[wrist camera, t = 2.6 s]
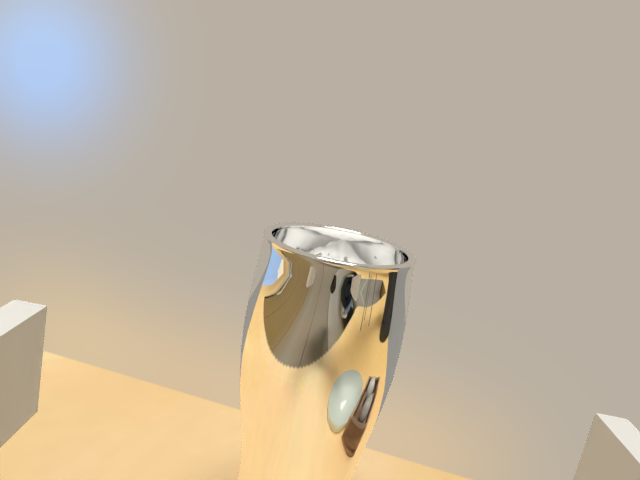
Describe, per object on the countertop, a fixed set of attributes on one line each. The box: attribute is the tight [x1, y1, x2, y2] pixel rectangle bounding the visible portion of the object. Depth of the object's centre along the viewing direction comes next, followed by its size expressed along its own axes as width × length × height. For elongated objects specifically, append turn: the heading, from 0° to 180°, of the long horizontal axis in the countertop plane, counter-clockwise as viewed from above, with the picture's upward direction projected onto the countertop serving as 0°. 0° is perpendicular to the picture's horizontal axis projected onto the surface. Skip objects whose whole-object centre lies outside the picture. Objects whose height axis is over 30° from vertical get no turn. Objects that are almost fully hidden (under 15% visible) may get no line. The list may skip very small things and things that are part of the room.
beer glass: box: [237, 222, 416, 480], centre depth 26 cm, size 7×7×15 cm
